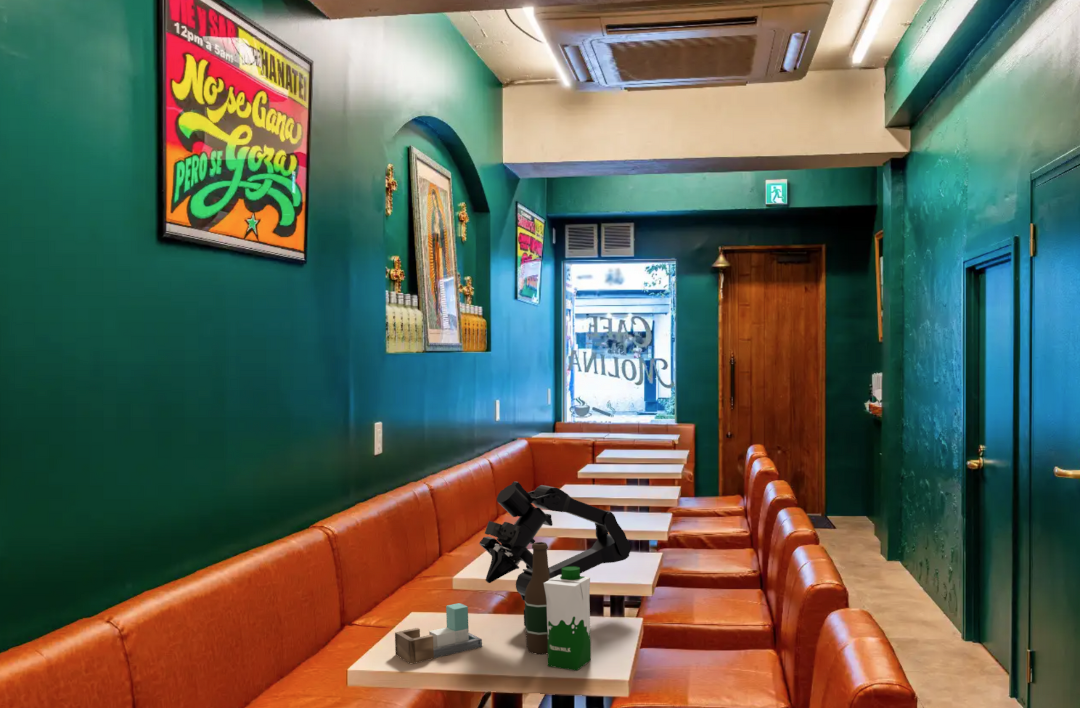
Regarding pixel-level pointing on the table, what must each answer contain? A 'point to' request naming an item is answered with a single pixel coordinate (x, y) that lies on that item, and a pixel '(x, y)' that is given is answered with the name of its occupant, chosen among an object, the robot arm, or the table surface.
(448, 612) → the teal block
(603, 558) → the robot arm
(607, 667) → the table surface
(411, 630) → the socket
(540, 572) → the beer bottle
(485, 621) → the table surface
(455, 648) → the rails
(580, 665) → the milk carton
